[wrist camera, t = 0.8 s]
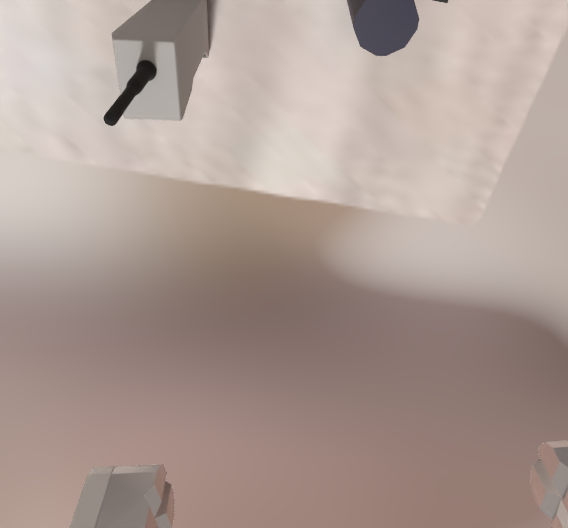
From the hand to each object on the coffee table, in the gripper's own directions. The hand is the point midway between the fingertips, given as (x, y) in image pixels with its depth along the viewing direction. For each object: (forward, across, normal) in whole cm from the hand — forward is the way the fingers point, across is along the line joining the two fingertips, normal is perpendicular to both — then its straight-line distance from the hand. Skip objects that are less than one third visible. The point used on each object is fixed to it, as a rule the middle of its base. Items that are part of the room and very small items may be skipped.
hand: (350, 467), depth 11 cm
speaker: (+41, -8, -4) cm, 42 cm away
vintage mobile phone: (+41, +9, -3) cm, 43 cm away
